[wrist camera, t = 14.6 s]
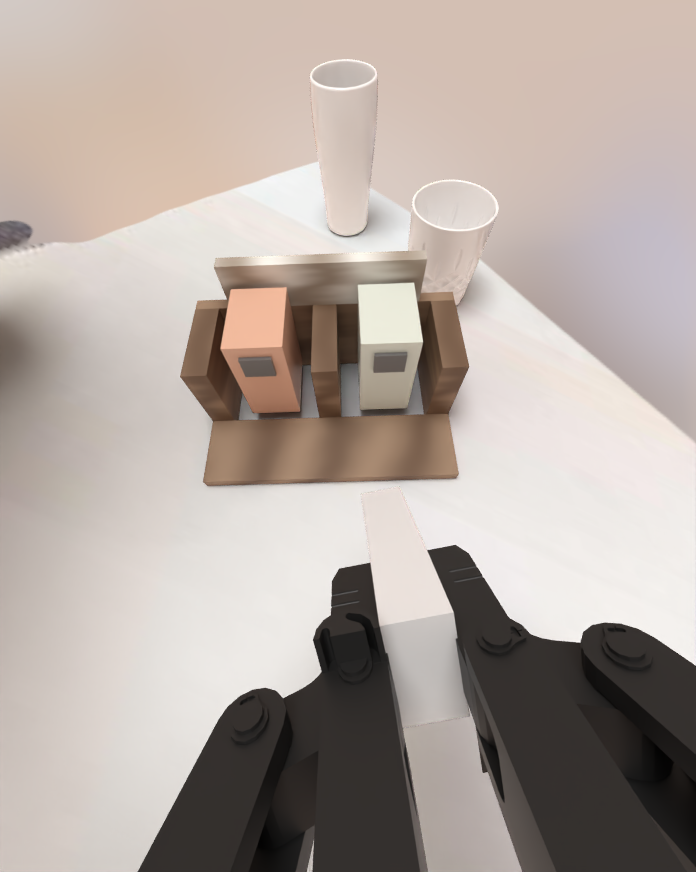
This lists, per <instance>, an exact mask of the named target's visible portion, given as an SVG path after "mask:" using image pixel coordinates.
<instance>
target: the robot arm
mask: <svg viewBox="0 0 696 872" xmlns="http://www.w3.org/2000/svg"><path fill="white" fill-rule="evenodd" d="M361 500H362V507H363V514H364V521H365V528H366V535H367V542H368V549H369V556H370V563H367V564H361V565H356V566H351V567H346V568H341V569H339V570H338V572H337V574H336V575H335V577H334V579H333V580H332V599H331V606H332V608H331V616H329V617H328V618H326V619H325V620H323V622H322V623H321V624H320V626H319V627H318V628H317V629H316V632H315V635H314V639H313V641H314V645H315V648H316V652H317V656H318V659H319V663H320V667H321V670H322V672H321V674H320V675H319V676H318V677H317V678H316V679H315V680H314V681H313V682H312V683H310V684H309V685H307V686H306V687H304V688H302V689H301V690H299V691H297V692H295V693H293V694H291V695H289V696H287V697H285V698H282V697H281V696H280V695H279V693H278V692H277V691H275V690H271V689H268V688H261V689H255V690H251V691H249V692H247V693H245V694H243V695H241V696H240V697H238V698H237V699H236V700H235V701H234V702H233V703H232V704H230V705H229V706H228V707H227V709H226V710H225V711H224V713H223V714H222V716H221V717H220V719H219V720H218V722H217V724H216V726H215V727H214V729H213V731H212V733H211V735H210V737H209V739H208V741H207V743H206V744H205V746H204V748H203V750H202V752H201V754H200V756H199V758H198V759H197V761H196V763H195V765H194V767H193V769H192V771H191V773H190V774H189V776H188V778H187V780H186V782H185V784H184V786H183V788H182V789H181V791H180V793H179V795H178V797H177V799H176V801H175V803H174V805H173V806H172V808H171V810H170V812H169V814H168V816H167V818H166V820H165V821H164V823H163V825H162V827H161V829H160V831H159V833H158V835H157V836H156V838H155V840H154V842H153V844H152V846H151V848H150V850H149V852H148V853H147V855H146V857H145V859H144V861H143V863H142V865H141V867H140V868H139V870H138V872H307V867H308V863H309V858H310V854H311V849H312V845H313V840H314V854H313V872H428V869H427V864H426V858H425V852H424V846H423V840H422V834H421V828H420V822H419V817H418V811H417V805H416V799H415V793H414V787H413V781H412V775H411V770H410V764H409V758H408V753H407V749H406V744H405V739H404V733H403V728H408V727H413V726H419V725H424V724H430V723H435V722H441V721H446V720H452V719H458V718H463V717H469V716H470V715H469V709H468V705H469V708H470V711H471V714H472V716H473V719H474V722H475V725H476V731H477V738H478V745H479V751H480V758H481V764H482V771H483V773H485V772H488V774H489V776H490V779H491V782H492V785H493V788H494V791H495V794H496V797H497V800H498V802H499V805H500V808H501V811H502V814H503V817H504V820H505V823H506V826H507V828H508V831H509V834H510V837H511V840H512V843H513V846H514V849H515V852H516V854H517V857H518V860H519V863H520V866H521V869H522V872H696V666H695V665H694V664H692V663H691V662H689V661H688V660H686V659H685V658H684V657H682V656H681V655H679V654H678V653H676V652H675V651H673V650H672V649H670V648H669V647H667V646H666V645H664V644H663V643H661V642H660V641H659V640H657V639H656V638H654V637H652V636H650V635H648V634H647V633H645V632H643V631H641V630H639V629H637V628H633V627H630V626H627V625H623V624H617V623H601V624H596V625H592V626H590V627H589V628H588V629H587V630H585V631H584V632H583V635H582V639H581V643H576V642H565V641H554V640H548V639H542V638H539V637H536V636H533V635H531V634H530V633H529V632H528V631H527V630H526V629H525V628H524V627H523V626H522V625H521V624H519V623H517V622H515V621H513V620H512V619H510V618H509V617H508V616H507V614H506V613H505V611H504V609H503V608H502V606H501V605H500V603H499V601H498V600H497V598H496V597H495V595H494V593H493V592H492V590H491V589H490V587H489V585H488V584H487V582H486V581H485V579H484V578H483V577H482V574H481V573H480V571H479V569H478V568H477V567H476V564H475V563H474V561H473V560H472V558H471V556H470V555H469V553H467V552H466V551H464V550H463V549H461V548H459V547H458V546H456V545H453V546H448V547H443V548H437V549H432V550H427V549H426V547H425V544H424V542H423V540H422V537H421V535H420V533H419V530H418V528H417V526H416V523H415V521H414V519H413V516H412V514H411V512H410V509H409V507H408V505H407V502H406V500H405V498H404V495H403V493H402V491H401V488H400V486H398V487H393V488H388V489H383V490H378V491H373V492H368V493H363V494H361Z"/></svg>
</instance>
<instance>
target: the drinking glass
mask: <svg viewBox="0 0 696 872" xmlns="http://www.w3.org/2000/svg"><path fill="white" fill-rule="evenodd" d="M310 95H311V109H312V119H313V128H314V136H315V142H316V148H317V155H318V161H319V167H320V173H321V179H322V186H323V192H324V199H325V205H326V215H327V224H328V226H329V228H330V229H331V230H332V231H333V232H334V233H336V234H339V235H344V236H350V235H355V234H357V233H359V232H361V231H362V230H363V229H364V228H365V227H366V224H367V219H368V201H369V191H370V182H371V172H372V163H373V153H374V145H375V135H376V124H377V102H378V101H377V100H378V73H377V71H376V69H375V68H374V67H373V66H372V65H370V64H368V63H365V62H362V61H358V60H335V61H329V62H326V63H323V64H321V65H319V66H317V67H316V68H314V69H313V70H312V71H311V73H310Z"/></svg>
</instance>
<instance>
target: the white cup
mask: <svg viewBox="0 0 696 872" xmlns="http://www.w3.org/2000/svg"><path fill="white" fill-rule="evenodd" d="M498 210H499V206H498V202H497V200H496V199H495V197H494V196H493V195H492V194H491V193H490V192H489V191H488V190H487V189H485V188H483V187H481V186H479V185H477V184H474V183H471V182H467V181H462V180H441V181H437V182H433V183H430V184H428V185H425V186H424V187H422V188H421V189H419V190H418V191H417V192H416V194H415V195H414V197H413V200H412V210H411V220H410V231H409V241H408V251H423V250H426V254H427V264H426V269H425V274H424V279H423V284H422V289H421V293H431V292H453V295H454V300H455V304H456V305H458V304H459V302H460V301H461V299H462V298H463V296H464V294H465V291H466V289H467V286H468V283H469V282H470V280H471V278H472V276H473V273H474V271H475V268H476V266H477V264H478V261H479V259H480V257H481V255H482V252H483V250H484V247H485V244H486V242H487V239H488V237H489V234H490V232H491V229H492V226H493V224H494V222H495V219H496V216H497V214H498Z"/></svg>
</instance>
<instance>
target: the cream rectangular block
mask: <svg viewBox="0 0 696 872" xmlns="http://www.w3.org/2000/svg"><path fill="white" fill-rule="evenodd" d="M422 345H423V338H422V332H421V325H420V319H419V312H418V306H417V299H416V292H415V286H414V283H394V284H366V285H358V376H359V398H360V410H365V409H396V408H407V407H408V403H409V399H410V394H411V390H412V386H413V382H414V378H415V374H416V369H417V365H418V361H419V357H420V353H421V349H422Z"/></svg>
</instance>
